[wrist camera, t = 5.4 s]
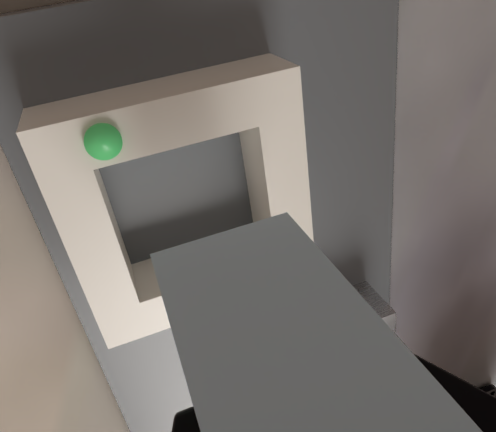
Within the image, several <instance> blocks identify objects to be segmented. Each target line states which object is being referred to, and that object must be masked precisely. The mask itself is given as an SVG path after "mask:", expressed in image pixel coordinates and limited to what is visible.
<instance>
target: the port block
mask: <svg viewBox="0 0 496 432" xmlns="http://www.w3.org/2000/svg"><path fill="white" fill-rule="evenodd" d="M237 132H239V136H240V142H241V148H242V155H243V161H244V168H245V174H246V180H247V187H248V193H249V199H250V206H251V212H252V218H253V222H256V221H260V220H263V219H266V218H269V217H273V216H276V215H279V214H283V213H286V212H287V213H288V214H289V215H290V216H291V217H292V218H293V220H294V221H295V222H296V223H297V224H298V225H299V226H300V227H301V229H302V230H303V231H304V232H305V233H306V234H307V235H308V236H309V238H310V239H311V240H312V241H313V242H314V239H313V226H312V214H311V201H310V188H309V175H308V162H307V149H306V136H305V123H304V110H303V97H302V84H301V72H300V66H299V65H296V64H294V63H292V62H289V61H287V60H285V59H283V58H280V57H278V56H276V55H273V54H271V53H268V54H264V55H259V56H255V57H250V58H246V59H241V60H237V61H232V62H228V63H223V64H219V65H215V66H210V67H206V68H201V69H197V70H192V71H188V72H183V73H179V74H175V75H170V76H166V77H161V78H157V79H152V80H148V81H143V82H139V83H135V84H130V85H126V86H121V87H117V88H112V89H108V90H103V91H99V92H94V93H90V94H86V95H81V96H77V97H72V98H68V99H63V100H59V101H54V102H50V103H46V104H41V105H37V106H32V107H28V108H23V111H22V114H21V118H20V121H19V124H18V128H17V131H16V134H17V137H18V139H19V141H20V144H21V146H22V148H23V151H24V153H25V155H26V158H27V160H28V162H29V165H30V167H31V169H32V172H33V174H34V176H35V179H36V181H37V183H38V186H39V188H40V190H41V193H42V195H43V198H44V200H45V202H46V205H47V207H48V209H49V212H50V214H51V216H52V219H53V221H54V223H55V226H56V228H57V230H58V233H59V235H60V237H61V240H62V242H63V244H64V247H65V249H66V251H67V254H68V256H69V258H70V261H71V263H72V266H73V268H74V270H75V273H76V275H77V277H78V280H79V282H80V284H81V287H82V289H83V291H84V294H85V296H86V298H87V301H88V303H89V305H90V308H91V310H92V312H93V315H94V317H95V319H96V322H97V324H98V326H99V329H100V331H101V333H102V336H103V338H104V341H105V343H106V345H107V348H108V349H111V348H114V347H117V346H119V345H122V344H125V343H128V342H131V341H134V340H137V339H140V338H143V337H145V336H148V335H151V334H154V333H157V332H160V331H163V330H166V329H168V328H171V327H170V323H169V320H168V316H167V313H166V309H165V306H164V302H163V299H162V295H161V292H160V288H159V285H158V281H157V278H156V274H155V271H154V267H153V264H152V260H151V258H150V259H147V260H144V261H141V262H137V263H134V264H131V262H130V259H129V256H128V253H127V251H126V248H125V245H124V242H123V239H122V236H121V233H120V230H119V227H118V224H117V221H116V218H115V215H114V212H113V210H112V207H111V204H110V201H109V198H108V195H107V192H106V189H105V186H104V183H103V180H102V177H101V174H100V171H99V168H103V167H107V166H110V165H114V164H118V163H122V162H126V161H130V160H133V159H137V158H141V157H145V156H149V155H153V154H156V153H160V152H164V151H168V150H172V149H176V148H179V147H183V146H187V145H191V144H195V143H199V142H202V141H206V140H210V139H214V138H218V137H222V136H225V135H229V134H233V133H237Z"/></svg>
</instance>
